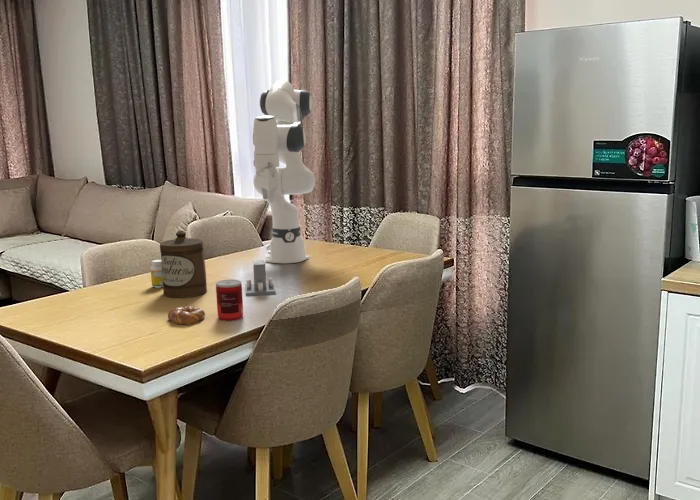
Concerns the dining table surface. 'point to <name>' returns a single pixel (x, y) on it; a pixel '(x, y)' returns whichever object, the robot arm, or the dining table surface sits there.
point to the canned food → (229, 299)
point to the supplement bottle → (156, 274)
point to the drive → (259, 273)
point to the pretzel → (186, 315)
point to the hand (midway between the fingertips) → (268, 200)
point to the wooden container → (183, 267)
